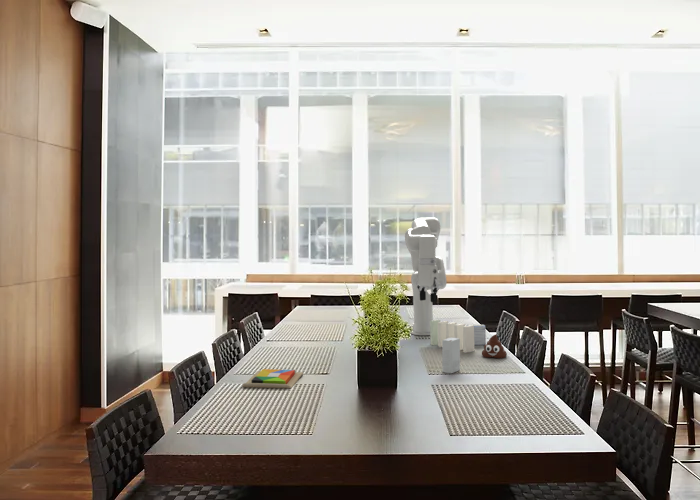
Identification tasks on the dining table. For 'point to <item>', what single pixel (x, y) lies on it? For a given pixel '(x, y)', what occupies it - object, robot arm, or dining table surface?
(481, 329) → the medicine box
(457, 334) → the domino
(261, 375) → the wooden puzzle
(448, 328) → the domino
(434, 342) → the domino
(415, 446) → the dining table surface
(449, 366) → the skincare box
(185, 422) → the dining table surface
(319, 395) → the dining table surface
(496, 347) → the poop emoji
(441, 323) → the domino
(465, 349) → the domino
